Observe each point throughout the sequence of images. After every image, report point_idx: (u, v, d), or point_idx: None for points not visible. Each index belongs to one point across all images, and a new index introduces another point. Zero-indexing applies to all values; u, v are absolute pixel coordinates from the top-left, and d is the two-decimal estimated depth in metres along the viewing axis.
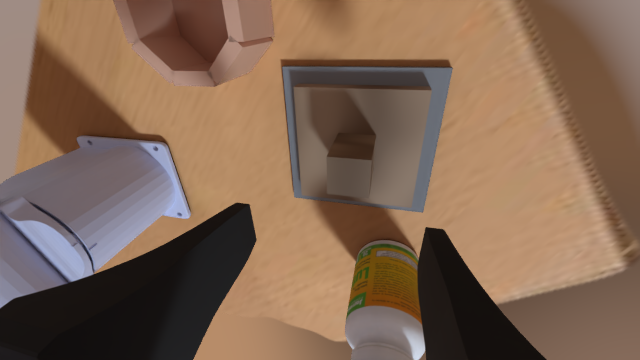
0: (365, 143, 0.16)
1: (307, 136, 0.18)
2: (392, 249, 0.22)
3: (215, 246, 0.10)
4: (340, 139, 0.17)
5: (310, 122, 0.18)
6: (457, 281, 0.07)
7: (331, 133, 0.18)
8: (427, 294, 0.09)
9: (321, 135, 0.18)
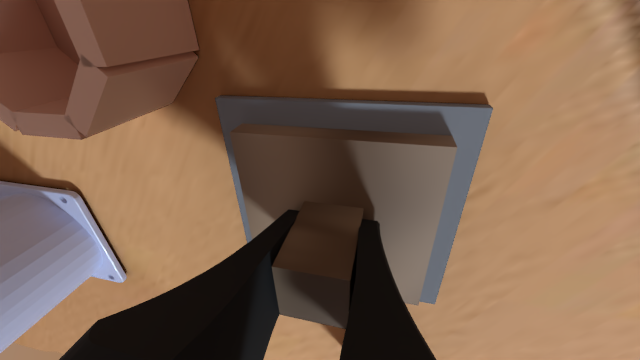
0: (344, 229, 0.10)
1: (258, 202, 0.12)
2: None
3: None
4: (304, 217, 0.10)
5: (261, 184, 0.11)
6: (368, 266, 0.08)
7: (293, 201, 0.11)
8: None
9: (279, 202, 0.12)
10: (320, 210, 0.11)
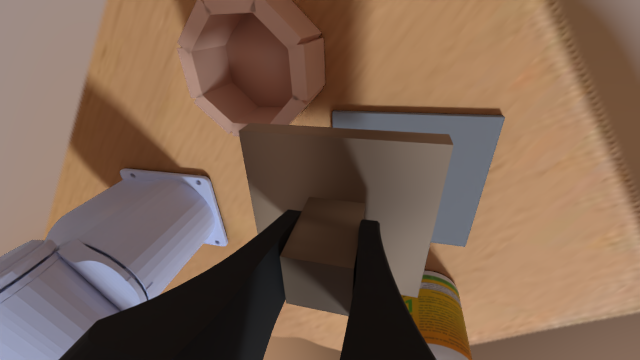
0: (347, 222, 0.10)
1: (265, 198, 0.12)
2: (433, 281, 0.22)
3: (277, 257, 0.09)
4: (309, 211, 0.11)
5: (267, 181, 0.12)
6: (368, 266, 0.08)
7: (298, 197, 0.12)
8: None
9: (285, 198, 0.12)
10: (324, 205, 0.11)
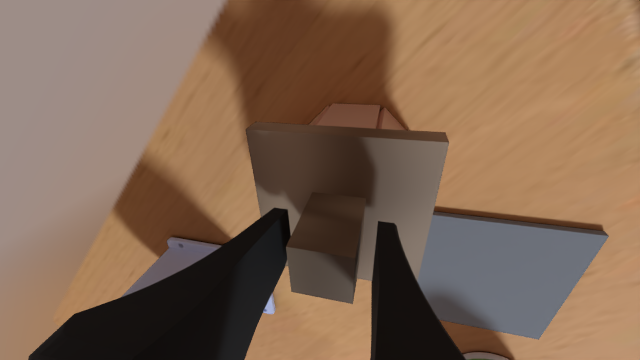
0: (348, 216, 0.11)
1: (270, 193, 0.13)
2: None
3: (260, 254, 0.09)
4: (313, 205, 0.12)
5: (273, 177, 0.13)
6: (391, 270, 0.08)
7: (302, 192, 0.13)
8: (374, 284, 0.09)
9: (289, 193, 0.13)
10: (327, 200, 0.12)
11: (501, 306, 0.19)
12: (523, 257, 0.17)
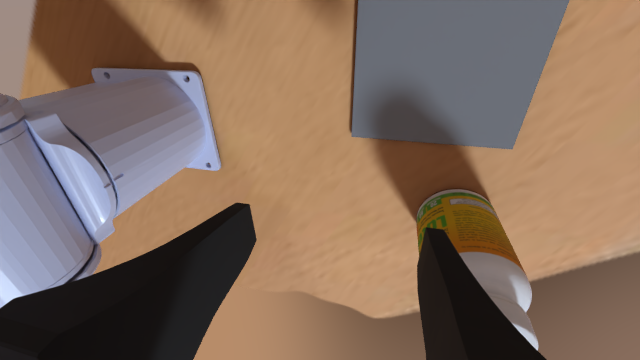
0: None
1: None
2: (468, 197, 0.18)
3: (215, 246, 0.10)
4: None
5: None
6: (457, 281, 0.07)
7: None
8: (427, 294, 0.09)
9: None
10: None
11: (468, 100, 0.16)
12: (490, 4, 0.14)
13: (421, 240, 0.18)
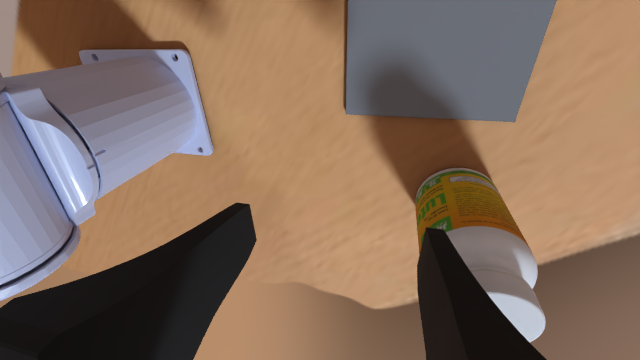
0: None
1: None
2: (469, 175, 0.18)
3: (215, 246, 0.10)
4: None
5: None
6: (457, 281, 0.07)
7: None
8: (427, 294, 0.09)
9: None
10: None
11: (466, 70, 0.15)
12: None
13: (420, 220, 0.17)
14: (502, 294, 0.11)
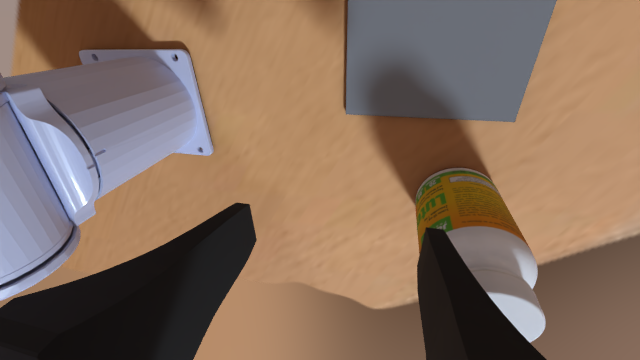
0: None
1: None
2: (469, 175, 0.18)
3: (215, 246, 0.10)
4: None
5: None
6: (457, 281, 0.07)
7: None
8: (427, 294, 0.09)
9: None
10: None
11: (466, 70, 0.15)
12: None
13: (420, 220, 0.17)
14: (502, 294, 0.11)
